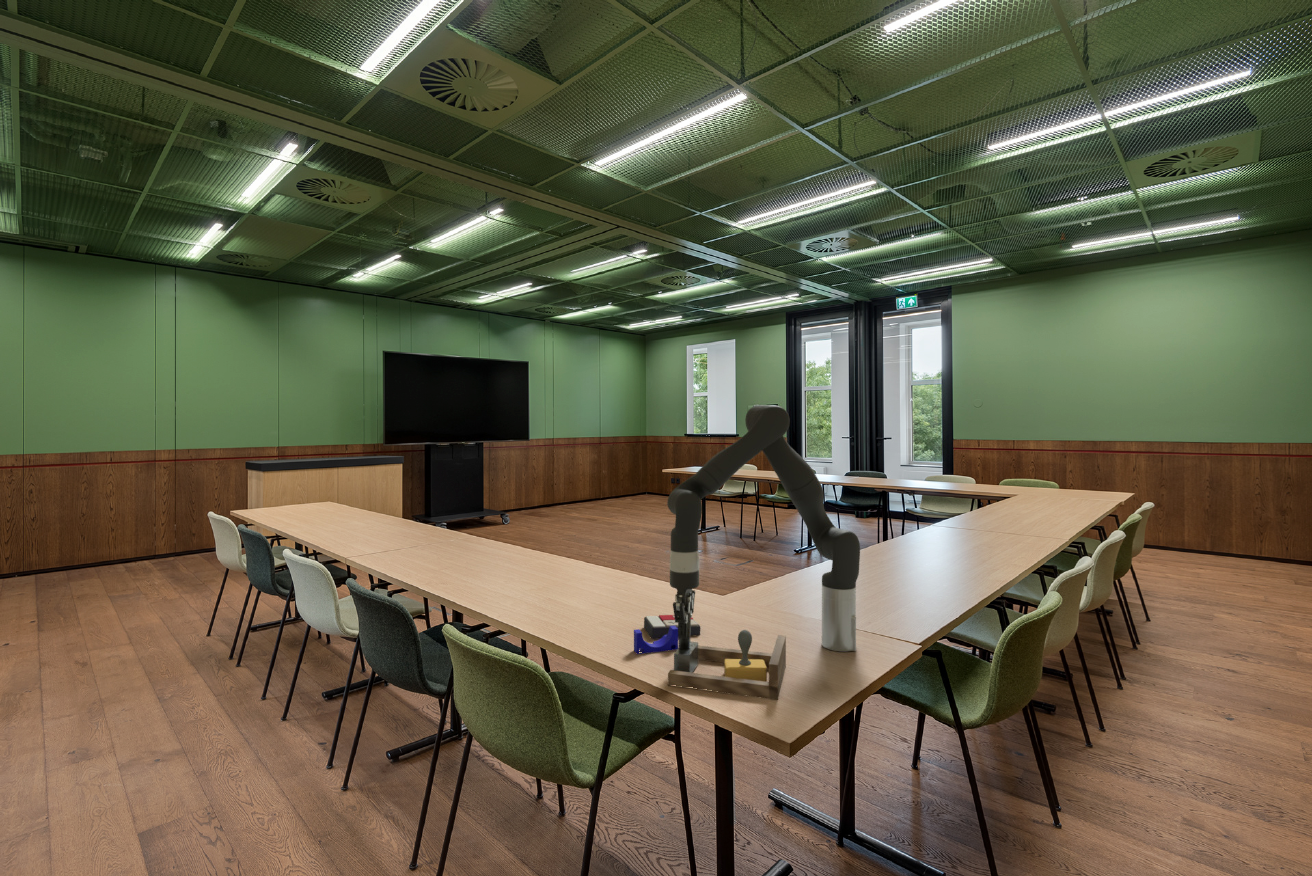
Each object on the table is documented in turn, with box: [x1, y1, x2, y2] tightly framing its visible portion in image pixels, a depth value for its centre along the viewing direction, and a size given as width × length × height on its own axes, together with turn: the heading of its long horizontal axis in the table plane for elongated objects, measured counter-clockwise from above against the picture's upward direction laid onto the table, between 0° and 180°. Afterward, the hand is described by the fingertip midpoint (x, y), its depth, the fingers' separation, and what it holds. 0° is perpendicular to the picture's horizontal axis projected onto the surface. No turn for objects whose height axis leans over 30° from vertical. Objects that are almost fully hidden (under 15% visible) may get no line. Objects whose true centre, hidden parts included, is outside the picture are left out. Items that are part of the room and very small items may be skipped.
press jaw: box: [673, 613, 699, 673], centre depth 153 cm, size 4×9×14 cm, turn 163°
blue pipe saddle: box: [633, 625, 679, 655], centre depth 168 cm, size 12×4×6 cm, turn 107°
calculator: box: [643, 614, 701, 640], centre depth 182 cm, size 11×4×15 cm
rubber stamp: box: [723, 629, 768, 682], centre depth 148 cm, size 10×6×12 cm, turn 87°
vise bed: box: [667, 634, 787, 701], centre depth 149 cm, size 26×20×8 cm
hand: (684, 634), depth 153 cm, fingers closed on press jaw, 3 cm apart
